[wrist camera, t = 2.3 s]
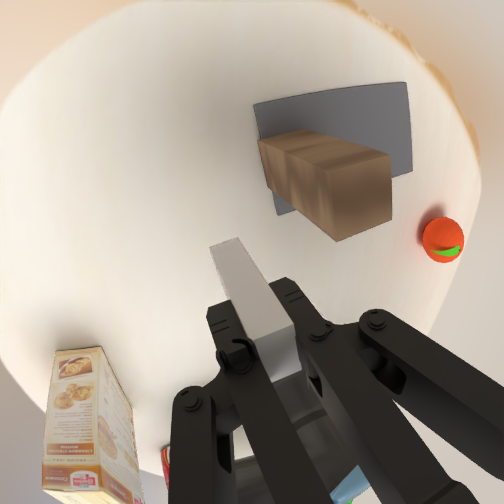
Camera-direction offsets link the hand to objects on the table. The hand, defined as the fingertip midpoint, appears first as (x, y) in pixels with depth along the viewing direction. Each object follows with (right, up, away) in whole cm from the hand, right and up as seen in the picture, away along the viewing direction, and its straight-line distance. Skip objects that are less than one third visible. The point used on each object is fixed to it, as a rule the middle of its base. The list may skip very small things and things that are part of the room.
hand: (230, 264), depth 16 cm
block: (+4, +10, +15) cm, 18 cm away
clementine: (+28, +4, +28) cm, 40 cm away
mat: (+12, +13, +16) cm, 24 cm away
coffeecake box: (-21, -18, +21) cm, 35 cm away
